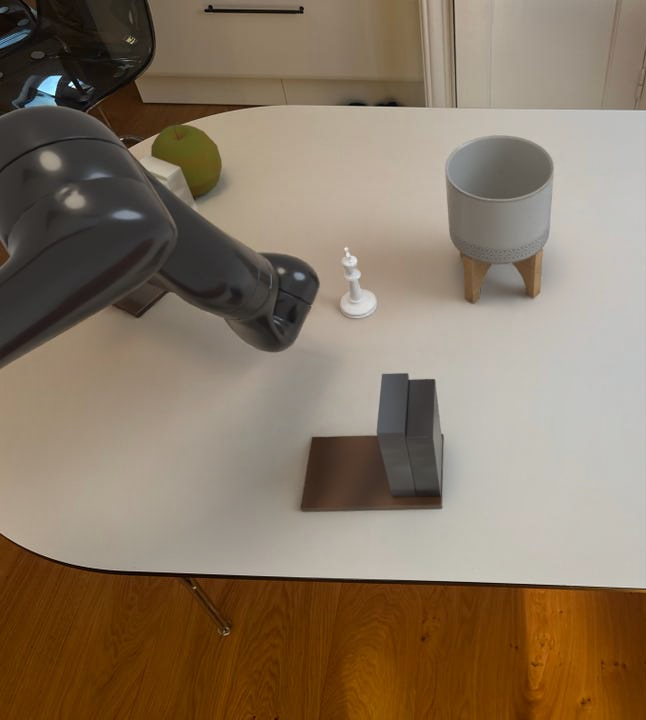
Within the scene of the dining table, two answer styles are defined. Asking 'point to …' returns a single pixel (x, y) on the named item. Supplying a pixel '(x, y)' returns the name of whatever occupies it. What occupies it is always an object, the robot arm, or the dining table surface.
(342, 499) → the grey book stand
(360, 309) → the chess piece
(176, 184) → the white book stand
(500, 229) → the planter
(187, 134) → the apple
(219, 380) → the dining table surface
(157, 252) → the robot arm
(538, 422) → the dining table surface
